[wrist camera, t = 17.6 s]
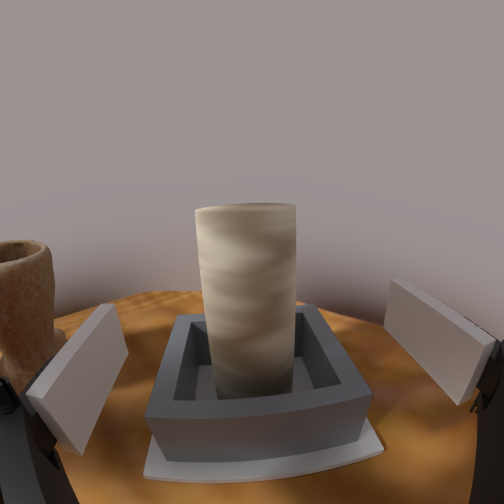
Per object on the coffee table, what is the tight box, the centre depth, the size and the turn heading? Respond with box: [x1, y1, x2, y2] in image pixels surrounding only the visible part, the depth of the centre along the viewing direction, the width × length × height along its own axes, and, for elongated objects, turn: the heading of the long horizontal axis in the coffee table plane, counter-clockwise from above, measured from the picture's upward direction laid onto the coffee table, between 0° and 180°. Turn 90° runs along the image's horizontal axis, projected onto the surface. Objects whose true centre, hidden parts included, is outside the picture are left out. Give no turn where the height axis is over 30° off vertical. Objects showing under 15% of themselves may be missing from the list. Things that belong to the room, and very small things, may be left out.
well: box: [143, 304, 384, 483], centre depth 20 cm, size 16×16×6 cm
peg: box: [195, 203, 296, 400], centre depth 18 cm, size 6×6×15 cm
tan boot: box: [0, 240, 66, 396], centre depth 20 cm, size 15×12×15 cm
